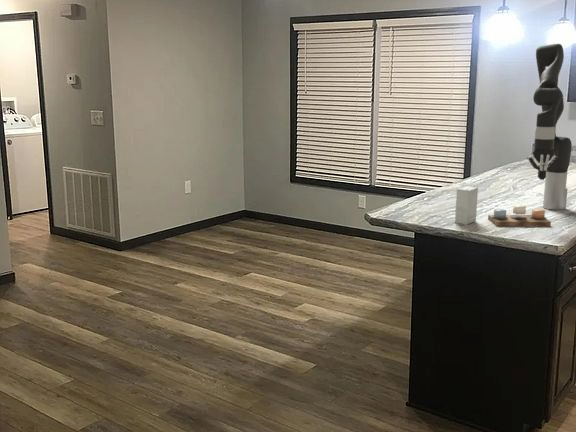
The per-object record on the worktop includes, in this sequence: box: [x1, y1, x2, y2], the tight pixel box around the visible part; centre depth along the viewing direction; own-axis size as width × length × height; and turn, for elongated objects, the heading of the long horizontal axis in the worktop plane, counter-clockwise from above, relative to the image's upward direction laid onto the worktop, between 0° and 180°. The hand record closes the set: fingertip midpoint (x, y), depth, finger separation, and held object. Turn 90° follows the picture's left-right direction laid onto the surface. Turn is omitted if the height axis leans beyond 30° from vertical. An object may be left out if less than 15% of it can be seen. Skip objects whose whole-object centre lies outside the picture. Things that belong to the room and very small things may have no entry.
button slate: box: [493, 208, 507, 219], centre depth 276 cm, size 5×5×3 cm
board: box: [487, 214, 552, 227], centre depth 277 cm, size 22×13×2 cm, turn 88°
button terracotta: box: [531, 208, 546, 219], centre depth 276 cm, size 5×5×3 cm
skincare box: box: [454, 185, 479, 225], centre depth 277 cm, size 8×6×15 cm
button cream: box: [512, 204, 527, 215], centre depth 276 cm, size 5×5×3 cm
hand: (541, 179), depth 273 cm, fingers closed
